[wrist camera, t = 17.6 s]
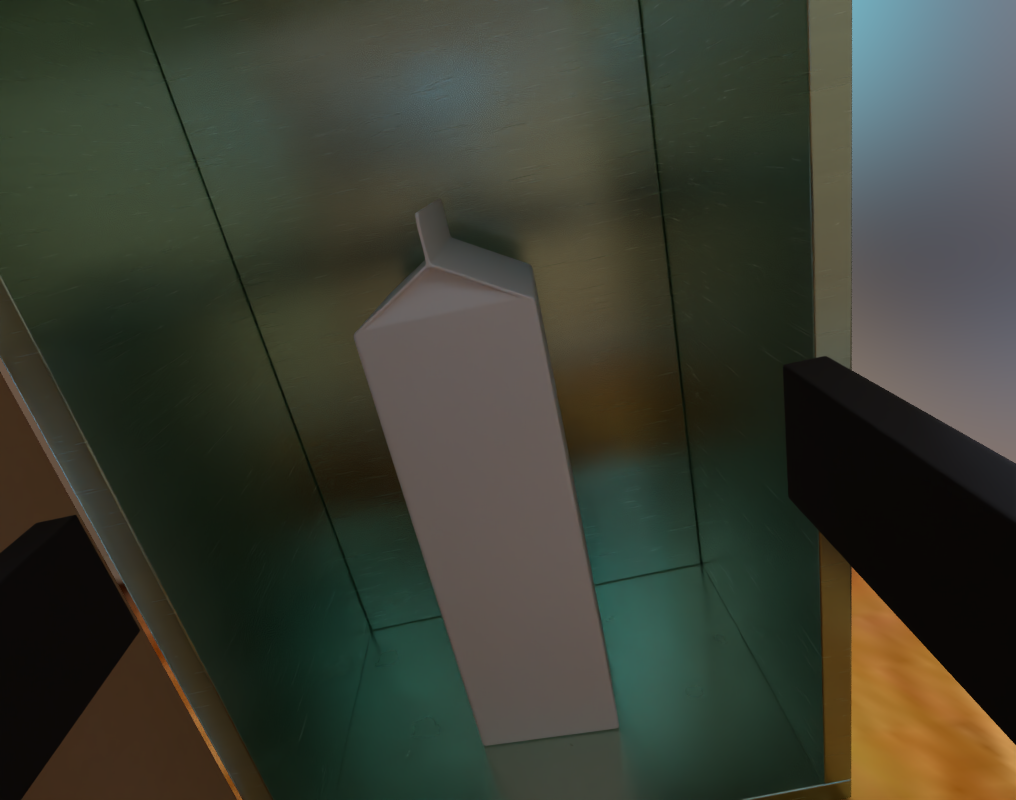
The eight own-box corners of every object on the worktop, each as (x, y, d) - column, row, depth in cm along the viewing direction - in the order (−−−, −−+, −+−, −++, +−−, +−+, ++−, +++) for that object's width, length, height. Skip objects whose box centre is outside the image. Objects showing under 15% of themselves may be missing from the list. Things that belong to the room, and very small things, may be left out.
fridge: (852, 798, 23) (854, -599, 10) (298, 903, 23) (-353, -283, 11) (714, 563, 36) (640, -171, 23) (362, 635, 36) (103, -41, 24)
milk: (483, 749, 26) (313, 237, 18) (489, 643, 32) (361, 215, 24) (623, 729, 26) (513, 191, 18) (605, 625, 31) (514, 179, 23)
